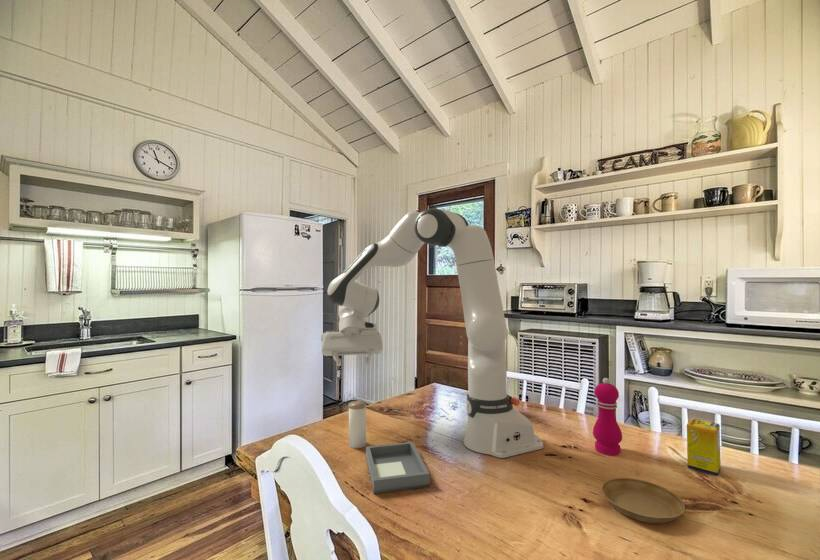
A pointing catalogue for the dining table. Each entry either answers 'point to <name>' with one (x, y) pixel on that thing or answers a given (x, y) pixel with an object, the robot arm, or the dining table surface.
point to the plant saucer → (643, 500)
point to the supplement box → (703, 446)
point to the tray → (396, 467)
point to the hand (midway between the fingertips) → (353, 364)
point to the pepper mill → (607, 420)
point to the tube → (357, 424)
